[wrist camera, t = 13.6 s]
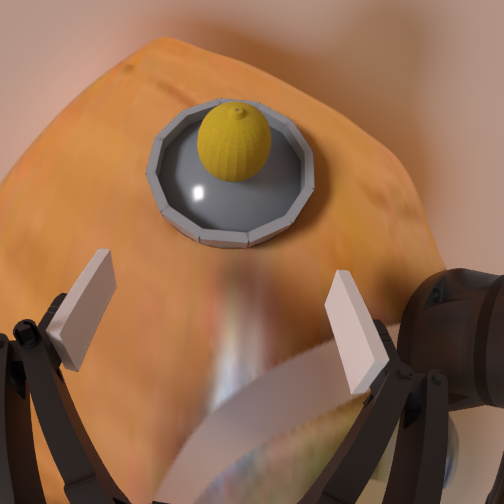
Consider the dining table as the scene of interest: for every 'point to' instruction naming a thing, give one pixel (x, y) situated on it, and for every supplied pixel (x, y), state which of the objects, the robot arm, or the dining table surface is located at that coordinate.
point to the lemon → (234, 141)
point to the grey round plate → (229, 183)
